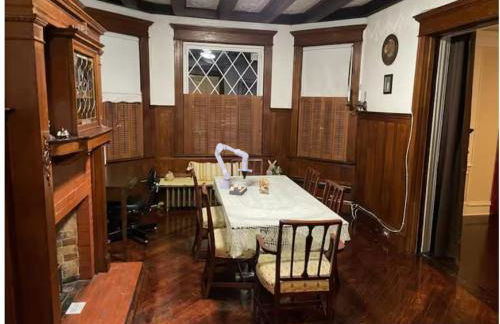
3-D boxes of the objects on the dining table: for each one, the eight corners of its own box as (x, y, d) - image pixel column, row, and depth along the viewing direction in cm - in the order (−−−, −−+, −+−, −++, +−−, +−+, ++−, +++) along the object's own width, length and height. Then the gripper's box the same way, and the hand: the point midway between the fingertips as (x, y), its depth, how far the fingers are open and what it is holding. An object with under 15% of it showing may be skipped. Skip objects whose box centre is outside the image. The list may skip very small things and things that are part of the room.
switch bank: (229, 194, 335) (229, 191, 334) (235, 189, 355) (235, 186, 354) (241, 195, 332) (241, 192, 332) (246, 190, 352) (247, 187, 352)
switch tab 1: (230, 190, 336) (230, 187, 336) (231, 189, 339) (231, 186, 338) (233, 190, 335) (233, 187, 335) (234, 189, 338) (234, 186, 338)
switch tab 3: (238, 189, 341) (238, 186, 341) (238, 188, 344) (238, 185, 344) (241, 189, 341) (241, 186, 340) (242, 188, 344) (242, 185, 343)
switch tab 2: (234, 187, 349) (234, 183, 349) (235, 186, 352) (235, 183, 352) (237, 187, 349) (237, 184, 348) (238, 186, 352) (238, 183, 351)
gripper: (236, 165, 354) (236, 179, 356) (251, 166, 350) (250, 180, 352) (238, 163, 360) (238, 177, 363) (252, 165, 357) (252, 178, 359)
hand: (244, 178), depth 358 cm, fingers closed
